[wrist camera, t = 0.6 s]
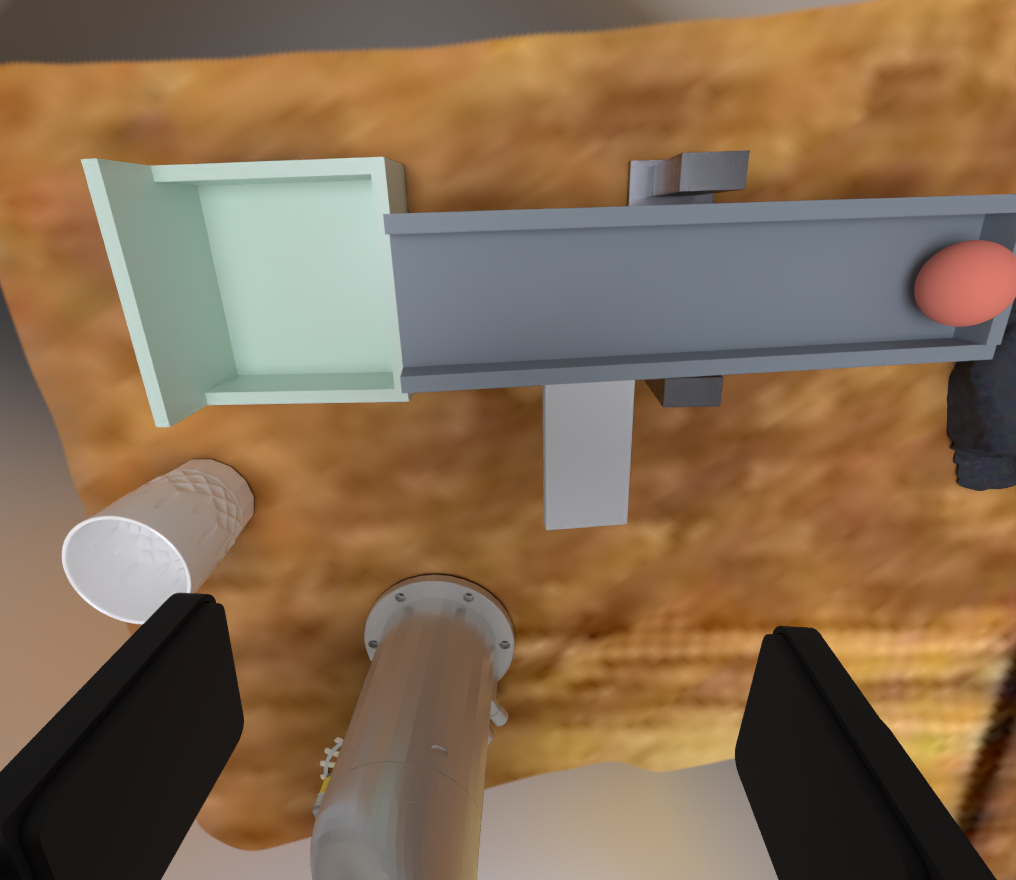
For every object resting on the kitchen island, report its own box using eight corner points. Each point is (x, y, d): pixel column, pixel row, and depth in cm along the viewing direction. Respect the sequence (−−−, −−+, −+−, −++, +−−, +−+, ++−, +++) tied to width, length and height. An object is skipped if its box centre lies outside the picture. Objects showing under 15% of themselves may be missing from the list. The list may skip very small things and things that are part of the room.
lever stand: (693, 370, 38) (738, 413, 30) (619, 371, 38) (643, 414, 30) (712, 159, 33) (773, 139, 25) (628, 162, 34) (660, 144, 25)
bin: (423, 379, 39) (393, 423, 31) (234, 383, 40) (156, 427, 32) (404, 165, 34) (362, 147, 26) (188, 173, 35) (80, 159, 27)
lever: (884, 461, 36) (954, 499, 31) (421, 495, 34) (416, 542, 29) (947, 197, 31) (1045, 192, 26) (394, 215, 28) (382, 214, 23)
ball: (979, 292, 29) (1055, 303, 25) (907, 333, 30) (970, 350, 26) (961, 222, 28) (1037, 222, 24) (885, 267, 28) (948, 274, 25)
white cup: (141, 490, 44) (36, 564, 34) (203, 430, 41) (109, 492, 32) (220, 557, 46) (141, 644, 36) (283, 503, 43) (216, 581, 34)
